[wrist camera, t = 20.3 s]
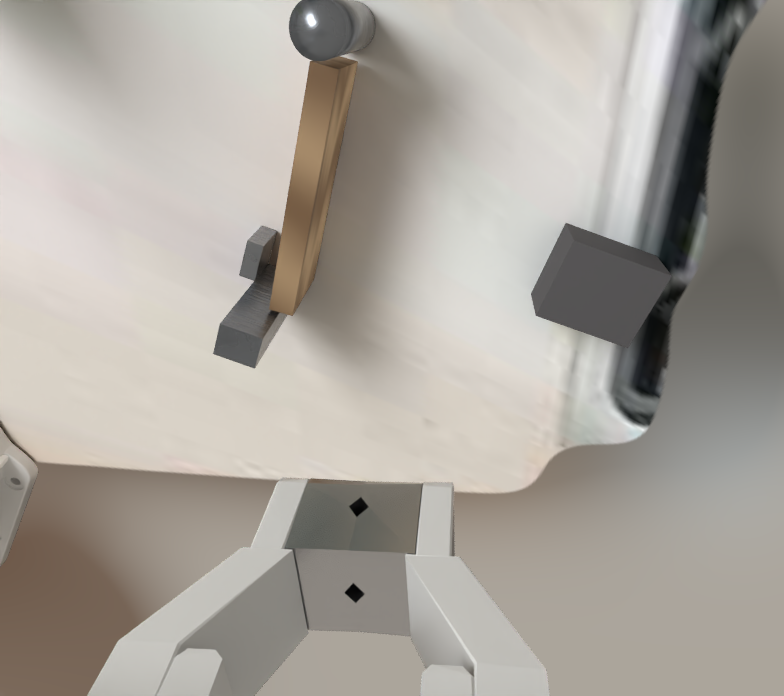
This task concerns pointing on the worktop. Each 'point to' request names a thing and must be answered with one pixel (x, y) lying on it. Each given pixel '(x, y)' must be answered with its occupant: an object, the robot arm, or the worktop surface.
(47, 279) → the worktop surface
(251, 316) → the post
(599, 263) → the block
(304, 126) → the gate
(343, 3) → the hinge post
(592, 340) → the worktop surface
